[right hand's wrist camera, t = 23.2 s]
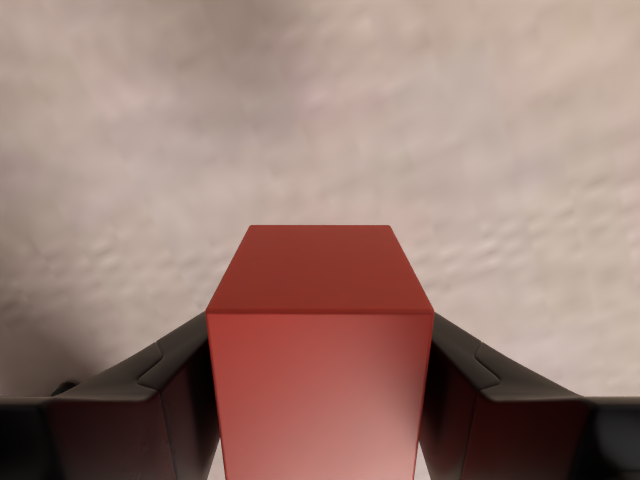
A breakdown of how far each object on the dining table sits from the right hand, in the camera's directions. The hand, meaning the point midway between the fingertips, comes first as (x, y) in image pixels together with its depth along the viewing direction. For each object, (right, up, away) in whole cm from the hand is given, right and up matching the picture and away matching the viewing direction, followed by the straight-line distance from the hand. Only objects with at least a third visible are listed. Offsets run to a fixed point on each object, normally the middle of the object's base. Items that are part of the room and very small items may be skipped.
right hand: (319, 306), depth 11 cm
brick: (0, 0, +1) cm, 1 cm away
